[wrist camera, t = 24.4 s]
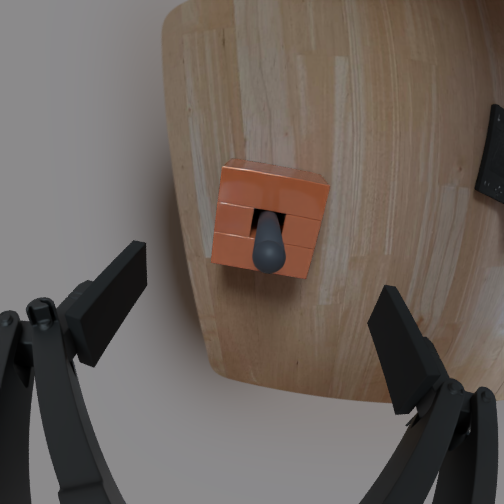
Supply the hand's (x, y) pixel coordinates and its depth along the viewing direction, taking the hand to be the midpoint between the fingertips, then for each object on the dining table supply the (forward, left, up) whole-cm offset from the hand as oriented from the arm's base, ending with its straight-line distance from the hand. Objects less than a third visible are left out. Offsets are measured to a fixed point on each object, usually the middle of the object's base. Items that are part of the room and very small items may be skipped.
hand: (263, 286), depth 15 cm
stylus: (+1, 0, -15) cm, 15 cm away
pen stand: (0, 0, -15) cm, 15 cm away
